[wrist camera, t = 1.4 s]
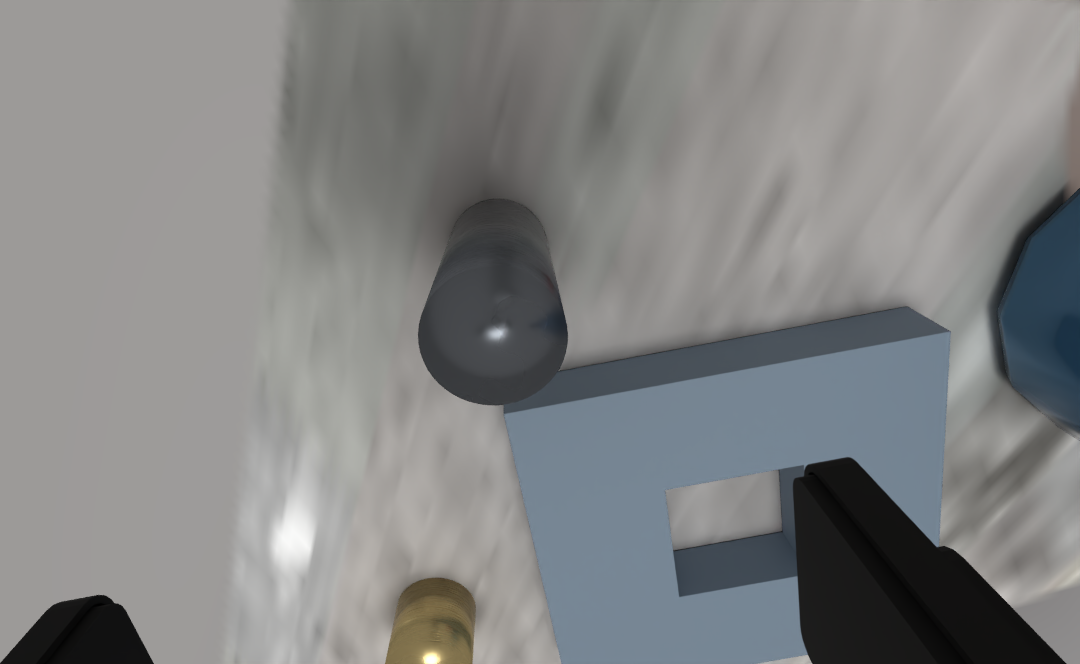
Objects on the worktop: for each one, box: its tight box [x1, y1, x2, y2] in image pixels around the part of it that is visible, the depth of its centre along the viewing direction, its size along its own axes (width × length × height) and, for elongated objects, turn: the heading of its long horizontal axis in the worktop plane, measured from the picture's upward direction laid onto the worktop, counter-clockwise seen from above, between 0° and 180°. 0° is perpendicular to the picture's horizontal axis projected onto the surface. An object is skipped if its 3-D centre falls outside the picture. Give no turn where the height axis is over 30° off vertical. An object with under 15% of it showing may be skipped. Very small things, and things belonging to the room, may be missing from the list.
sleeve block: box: [504, 307, 951, 664], centre depth 30 cm, size 16×18×3 cm
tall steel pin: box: [418, 199, 568, 405], centre depth 22 cm, size 4×4×10 cm
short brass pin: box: [385, 578, 476, 664], centre depth 32 cm, size 4×4×4 cm
